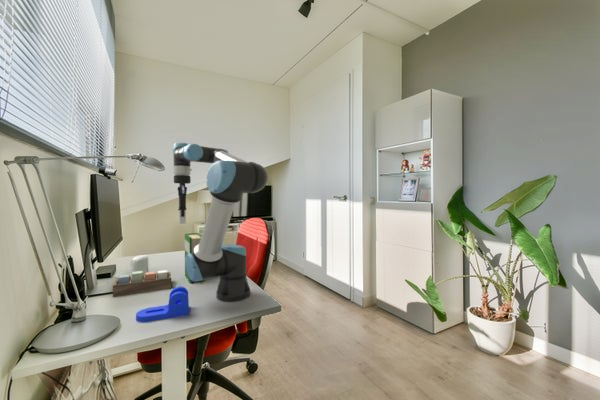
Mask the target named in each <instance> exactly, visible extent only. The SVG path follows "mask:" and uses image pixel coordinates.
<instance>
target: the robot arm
mask: <svg viewBox="0 0 600 400" xmlns="http://www.w3.org/2000/svg"><path fill="white" fill-rule="evenodd" d="M172 153H173V175H174V176H173V183H174V184H179V186H177V192H178V193H177V194H178V209H177V211H178V212H179V214H178V215H179V216H178V219H179V221H178V222H179V224H186V220H187V219H186V218H187V217H186V213H187V212H186V210H187V209H188V208H187V207H186V206H187V205H186V204H187V191H188V187H187V186H186V184H191V176H190V175H191V171H192V170H193V169H192V168H191V162H195V163H207V164H211V166H210V167H209V168H208V170H207V173H206V187H207V189H208V191H209V194H210V195H211V197H212V198H211V201H210V206H209V209H208V212H207V215H206V216H207V217H206V220H205V223H204V227H203V230H202V234H201V235H202V237H201V241H200V244H198V245H196V246H195V248H194V251H193V253H189V254H187V255H186V258H185V257H184V267H185V266H186V271H187V274H188V276H189V278H190V279H191V280H192V281H194V282H200V281H201V282H203V280H205V281H206V280H209V279H214V278H218V277H219V279H220V280H219V281H218V282H219V283H218V286H217V289H216V292H215V294H216V299H218V300H219V301H223V302H237V301H241V300H245V299H248V298H249V297H250V295H251V287H250V285H249V282H248V279H247V249H246V247H245V246H243V245H240V244H239V245H238V244H223V242H224V239H225V237H226V234H227V231H228V227H229V224H230V222H231V219H232V215H233V212H234V209H235V206H236V204H237V203H239V202H241V200H242V198H243V195H244V194H254V193H258V192H260V191H262V190H263V189H264V188H265V187H266V185H267V183H268V178H269V176H268V172H267V170H266V168H265V167H264V166H263V165H261V164H259V163H257V162H253V161H249V162H248V161H246V160H244V159H242V158H239V157H237V156H235V155H232V154H230V153H229V151H228V150H226V149H224V148H215V147H207V146H201V145H199V144H197V143H187V142H175V143H174V144H173V150H172Z"/></svg>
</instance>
